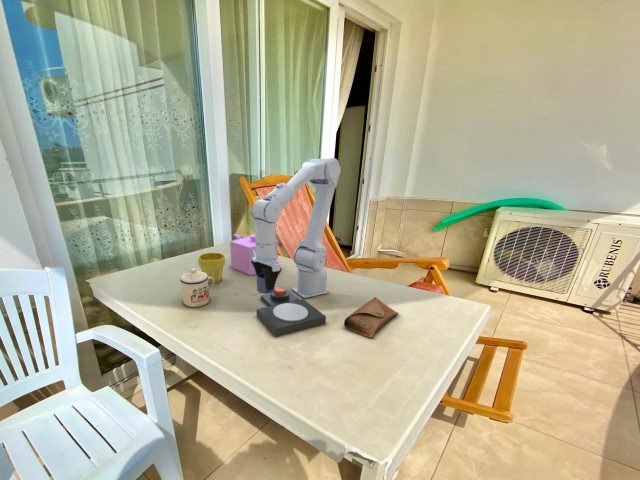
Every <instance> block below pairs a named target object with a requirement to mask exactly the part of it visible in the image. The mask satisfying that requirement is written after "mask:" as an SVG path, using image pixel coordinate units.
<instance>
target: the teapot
mask: <svg viewBox="0 0 640 480" xmlns="http://www.w3.org/2000/svg"><path fill="white" fill-rule="evenodd" d="M233 236H234V237H235V238H236V239H233V240H230V241H229V244H230V245H229V246H230V265H231V268H232V269H234V270H236V271H239V272H241V273H244V274H246V275H248V276H253V275H256V272H255V269H254V267H253V265H252V263H251V261H252V258H254V257H253V251H255V250H256V239H255V234H250V235H249V236H245V237H241V235H239V234H237V233H234V234H233ZM275 256H276V258H277V261H278V262H279V259H278V257H279V241H278V239H276V245H275ZM267 268H268V267H267Z"/></svg>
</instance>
